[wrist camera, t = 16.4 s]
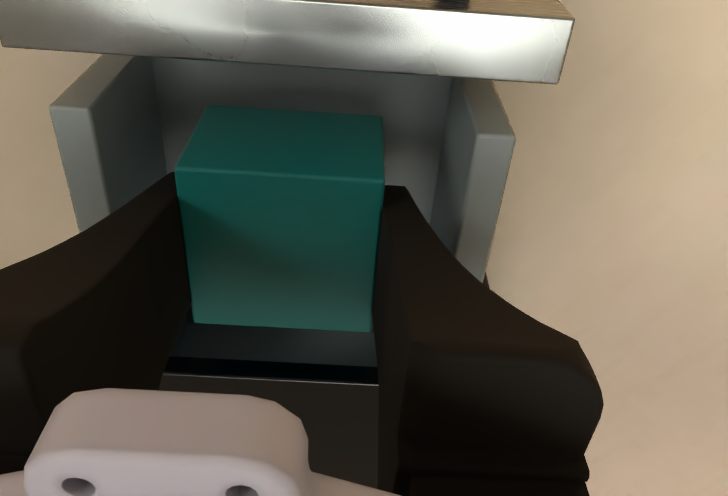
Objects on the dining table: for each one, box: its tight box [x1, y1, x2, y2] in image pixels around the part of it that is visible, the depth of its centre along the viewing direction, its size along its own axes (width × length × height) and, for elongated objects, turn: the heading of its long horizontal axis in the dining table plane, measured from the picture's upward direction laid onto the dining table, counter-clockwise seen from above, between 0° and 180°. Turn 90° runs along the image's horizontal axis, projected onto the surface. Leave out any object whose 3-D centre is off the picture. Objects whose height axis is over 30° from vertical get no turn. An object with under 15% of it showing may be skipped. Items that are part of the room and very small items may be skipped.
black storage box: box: [158, 272, 490, 489], centre depth 21 cm, size 13×11×7 cm
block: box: [174, 105, 385, 332], centre depth 14 cm, size 4×4×3 cm
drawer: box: [0, 0, 575, 367], centre depth 15 cm, size 17×10×5 cm, turn 176°
